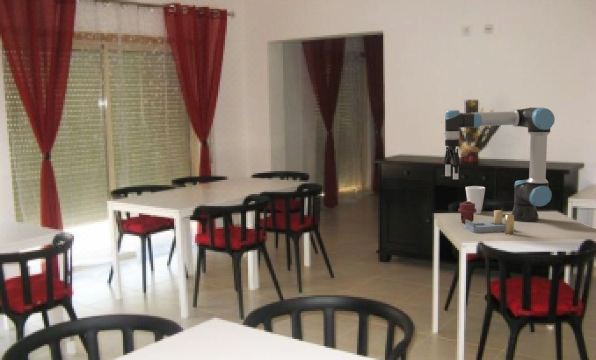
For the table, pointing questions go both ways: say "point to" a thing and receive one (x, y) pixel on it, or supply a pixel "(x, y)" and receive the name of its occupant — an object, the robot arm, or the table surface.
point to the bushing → (509, 224)
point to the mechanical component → (467, 211)
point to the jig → (487, 224)
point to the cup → (476, 196)
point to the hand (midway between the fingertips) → (451, 177)
